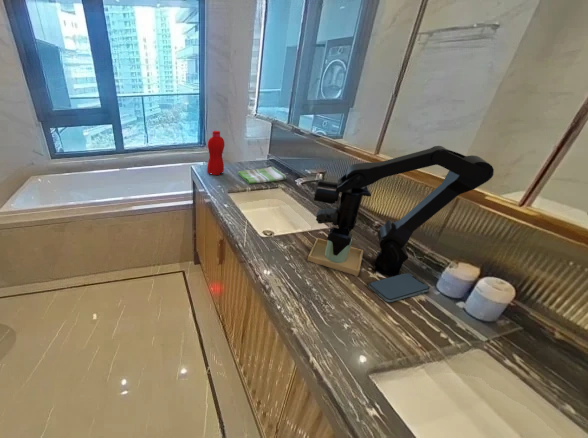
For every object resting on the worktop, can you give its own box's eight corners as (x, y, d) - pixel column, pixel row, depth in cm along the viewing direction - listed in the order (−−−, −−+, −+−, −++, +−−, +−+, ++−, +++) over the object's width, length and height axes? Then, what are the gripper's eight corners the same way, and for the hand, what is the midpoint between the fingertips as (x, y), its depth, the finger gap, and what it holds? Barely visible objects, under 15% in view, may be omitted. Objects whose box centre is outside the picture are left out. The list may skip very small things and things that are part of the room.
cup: (347, 254, 97) (353, 234, 93) (344, 265, 92) (350, 244, 88) (326, 248, 100) (331, 229, 96) (322, 258, 95) (327, 238, 91)
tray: (362, 254, 97) (363, 250, 96) (357, 276, 88) (359, 271, 87) (316, 242, 105) (317, 237, 104) (307, 260, 95) (308, 256, 94)
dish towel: (286, 180, 160) (287, 174, 159) (249, 184, 155) (249, 178, 153) (272, 171, 175) (272, 165, 173) (237, 174, 170) (237, 169, 168)
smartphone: (367, 282, 83) (407, 271, 86) (365, 286, 84) (406, 275, 87) (389, 300, 77) (431, 287, 80) (387, 304, 78) (429, 292, 81)
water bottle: (225, 170, 176) (227, 129, 164) (220, 176, 167) (221, 133, 155) (211, 169, 179) (212, 128, 167) (205, 174, 170) (205, 132, 158)
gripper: (327, 190, 97) (318, 229, 105) (314, 211, 84) (305, 254, 91) (363, 197, 92) (351, 237, 100) (356, 221, 78) (343, 266, 86)
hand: (337, 248), depth 94 cm, fingers open, 9 cm apart
